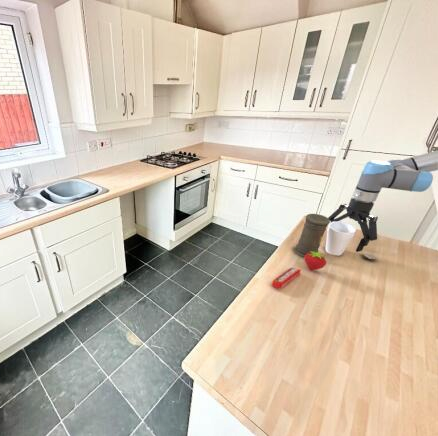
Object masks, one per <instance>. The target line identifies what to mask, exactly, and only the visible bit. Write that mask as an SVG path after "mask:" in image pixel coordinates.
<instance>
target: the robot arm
mask: <svg viewBox="0 0 438 436" xmlns="http://www.w3.org/2000/svg"><path fill="white" fill-rule="evenodd" d="M436 171H438V149H437V150H434V151H429V152H426V153H423V154H419V155H416V156H411V157H407V158H404V159H398V158H394V159H390V160H387V161H383V160H369V161H367V162H366V164H365V165H364V167H363V169H362V171H361V174H360V176H359V179H358V182H357V185H356V186H355V188H354V191H353V194H352V197H351V198H350V200H349V203H348V204H347V203H341V204H340V205H339V206H338V208H336V210H335V211H334V212H333V213H332V214H331V215H329V217H327V218H328V219H329V220H330V223H331V222H335V221H340V222H341V221H343V220H344V219H346V218H349V219H350V220H354V221H355V222H357V224H358V225H359V227H360V231H361V233H362V238H361V239H360V240H359V243H358V245H357V247H356V249H355V252H356V253H359V252H363V250H364V248H365V247H367V246H368V245H369V243H370V241H371V242H374V241H377V240H378V229H377V221H378V220H379V219H378V218H379V217H378V216H377V215H375V216H374V215H371V214H370V213H371V211H372V209H373V207H374V205H375V202H376V201H377V199H378V197H379V194H380V192H381V190H382V189H383V188H384V189H391V190H398V191H399V190H400V191H408V192H416V193H421V192H426V191H427V190H428V189H429V188H430V187H431V185H432V183H433V179H434V175H433V173H432V172H436ZM345 210H346V213H344V214H342V215H340V214H341V213H342V212H344V211H345ZM339 215H340V216H339Z"/></svg>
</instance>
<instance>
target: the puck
mask: <svg viewBox="0 0 438 436" xmlns="http://www.w3.org/2000/svg"><path fill="white" fill-rule="evenodd" d="M362 258H363V259H364V260H366V261H369V262H375V261H376V260H377V257H376V256H375V255H373V254H371V253H364V254H363V255H362Z"/></svg>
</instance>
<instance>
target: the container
mask: <svg viewBox="0 0 438 436" xmlns="http://www.w3.org/2000/svg"><path fill="white" fill-rule="evenodd" d="M329 223H331V221H330V220H329V219H328V217H327V216H325V215H322V214H318V213H308V214H306V215H305V222H304V225H303V228H302V231H301V234H300V237H299V239H298V241H297V244H296V245H295V247H294V252H295V253H296V254H297V255H298V256H300V257H302V258H304V256H305V255H306V254H307V253H311V252H315V253H317V252H318V253H319V252H320V250H319V249H320V247H321V243H322V240H323V237H324V234H325V232H326V231H327V227H328V225H329ZM310 251H311V252H310Z"/></svg>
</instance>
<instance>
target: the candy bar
mask: <svg viewBox="0 0 438 436" xmlns="http://www.w3.org/2000/svg"><path fill="white" fill-rule="evenodd" d="M300 273H301V269H298V268H295V267H289V269H287V270H285V271H284V272H283V273H281V274H279V276H277V277H275V279H273V280H272V283H271V285H270V286H272V287H274V288H276V289H282V288H284V287H285V286H286V285H288V284H289V283H291V281H294V279H296V278H297V277H298V276H299V275H300Z"/></svg>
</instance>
